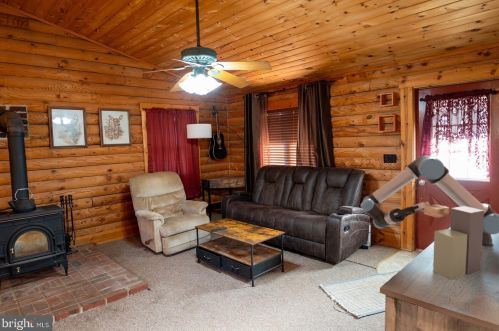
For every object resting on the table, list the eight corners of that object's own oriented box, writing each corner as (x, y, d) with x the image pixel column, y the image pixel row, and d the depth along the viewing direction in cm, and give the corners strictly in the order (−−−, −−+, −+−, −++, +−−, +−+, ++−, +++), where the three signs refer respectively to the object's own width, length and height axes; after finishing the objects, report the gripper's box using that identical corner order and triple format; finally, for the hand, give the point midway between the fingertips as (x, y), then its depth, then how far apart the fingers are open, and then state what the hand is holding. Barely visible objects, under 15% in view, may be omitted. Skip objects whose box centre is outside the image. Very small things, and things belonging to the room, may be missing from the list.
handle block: (420, 207, 169) (421, 200, 169) (448, 215, 154) (449, 207, 154) (409, 209, 166) (409, 202, 166) (436, 217, 152) (436, 209, 151)
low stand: (446, 267, 158) (448, 228, 156) (465, 275, 150) (467, 234, 147) (433, 270, 155) (434, 231, 153) (451, 279, 146) (453, 237, 144)
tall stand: (461, 263, 162) (464, 205, 158) (480, 271, 153) (484, 210, 149) (448, 266, 159) (451, 208, 155) (467, 275, 150) (470, 212, 146)
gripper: (407, 221, 183) (440, 209, 162) (386, 224, 177) (417, 213, 157) (402, 208, 185) (434, 195, 165) (381, 211, 180) (411, 198, 160)
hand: (426, 204), depth 161 cm, fingers closed on handle block, 2 cm apart
